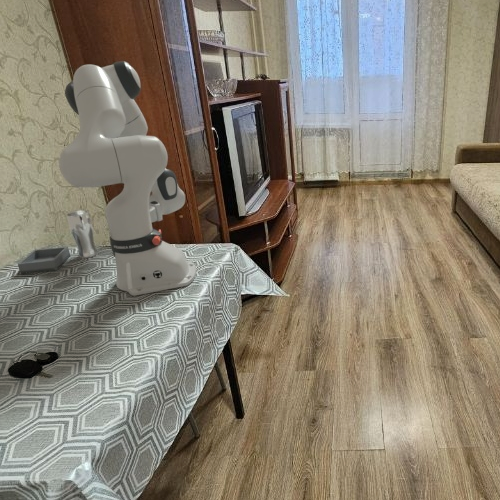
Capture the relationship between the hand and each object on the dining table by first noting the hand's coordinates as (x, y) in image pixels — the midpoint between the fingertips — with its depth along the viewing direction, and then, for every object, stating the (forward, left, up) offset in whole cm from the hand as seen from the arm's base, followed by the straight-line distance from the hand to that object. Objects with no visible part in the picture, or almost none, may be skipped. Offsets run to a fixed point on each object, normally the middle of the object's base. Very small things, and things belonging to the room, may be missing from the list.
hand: (114, 219), depth 133 cm
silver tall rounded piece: (+8, +9, -9) cm, 15 cm away
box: (+20, +14, -9) cm, 26 cm away
